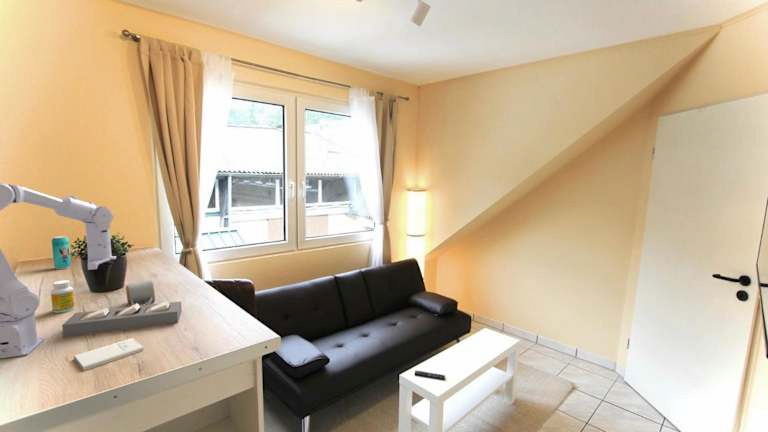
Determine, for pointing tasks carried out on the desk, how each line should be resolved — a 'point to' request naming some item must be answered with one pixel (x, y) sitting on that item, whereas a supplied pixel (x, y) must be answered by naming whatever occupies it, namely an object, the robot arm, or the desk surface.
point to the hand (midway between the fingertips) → (102, 285)
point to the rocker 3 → (159, 307)
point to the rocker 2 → (129, 310)
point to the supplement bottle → (62, 297)
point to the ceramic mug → (140, 293)
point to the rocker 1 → (96, 314)
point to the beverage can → (61, 252)
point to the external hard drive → (107, 353)
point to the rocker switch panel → (121, 320)
